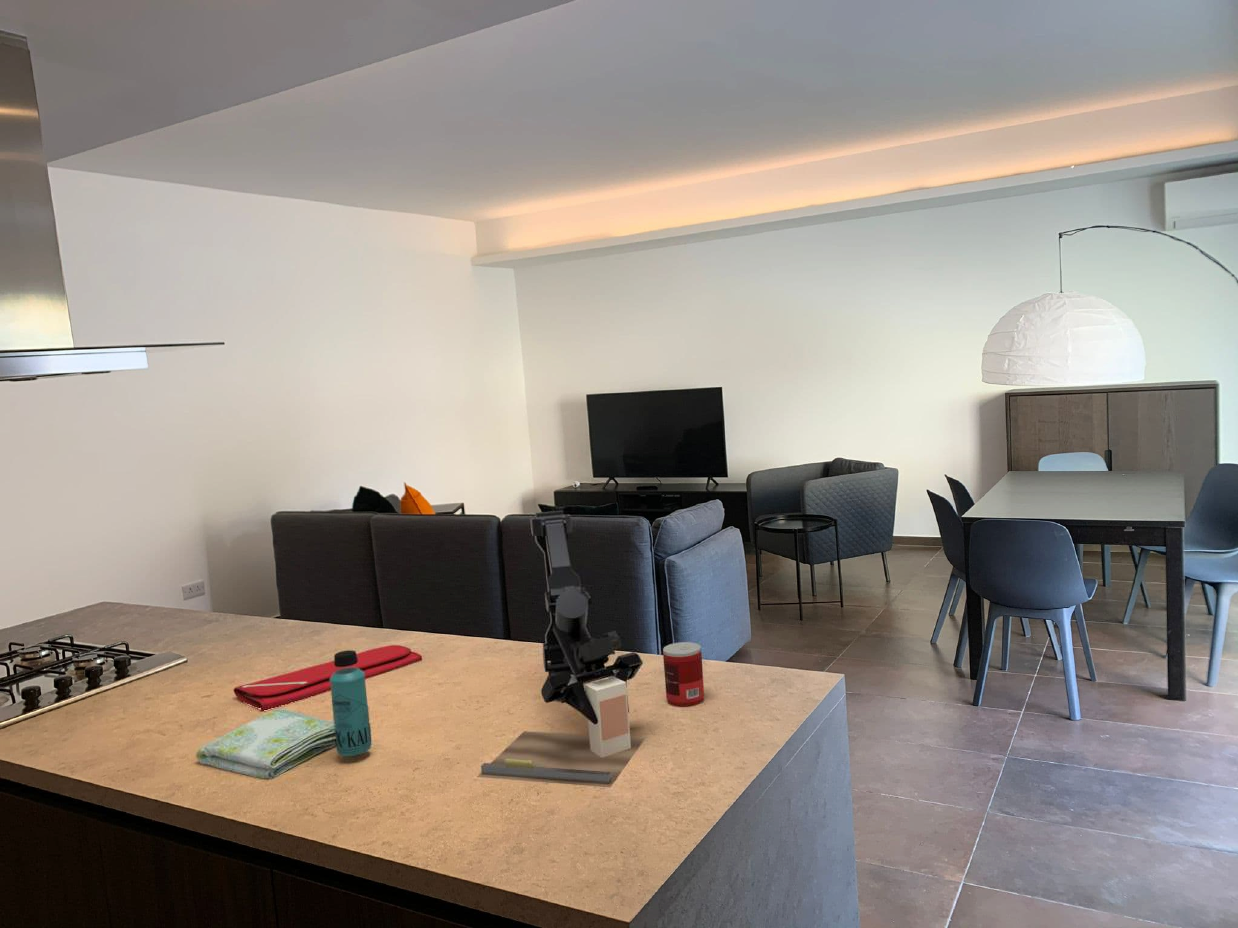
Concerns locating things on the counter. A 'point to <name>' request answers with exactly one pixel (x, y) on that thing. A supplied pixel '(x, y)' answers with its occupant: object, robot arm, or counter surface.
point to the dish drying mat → (320, 677)
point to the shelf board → (564, 755)
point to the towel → (269, 744)
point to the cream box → (609, 717)
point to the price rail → (544, 772)
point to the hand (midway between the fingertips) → (612, 718)
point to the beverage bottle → (350, 706)
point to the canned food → (683, 674)
